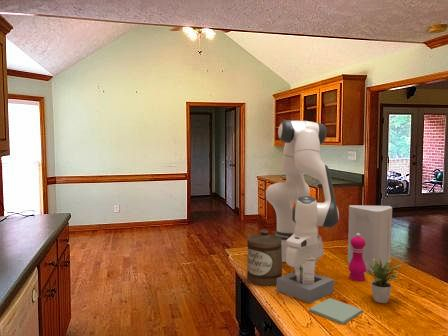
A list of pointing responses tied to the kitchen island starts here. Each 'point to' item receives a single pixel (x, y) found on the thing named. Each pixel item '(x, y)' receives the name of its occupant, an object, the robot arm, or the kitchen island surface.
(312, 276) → the syrup box
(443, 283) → the kitchen island surface
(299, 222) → the robot arm
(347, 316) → the mat
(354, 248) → the pepper mill
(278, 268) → the wooden container
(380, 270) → the house plant
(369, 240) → the white triangular bin
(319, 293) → the frame
